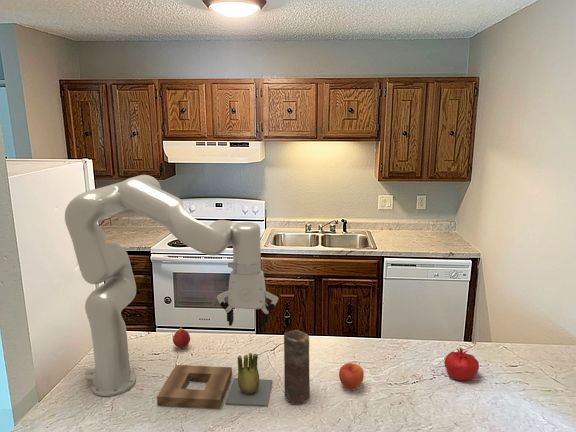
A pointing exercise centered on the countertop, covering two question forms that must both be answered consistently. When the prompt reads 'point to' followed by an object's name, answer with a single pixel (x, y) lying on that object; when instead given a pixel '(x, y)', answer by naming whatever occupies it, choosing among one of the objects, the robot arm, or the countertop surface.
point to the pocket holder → (191, 398)
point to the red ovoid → (181, 338)
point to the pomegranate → (461, 365)
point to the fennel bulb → (248, 374)
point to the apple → (351, 375)
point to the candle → (296, 367)
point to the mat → (254, 399)
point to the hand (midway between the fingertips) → (247, 324)
